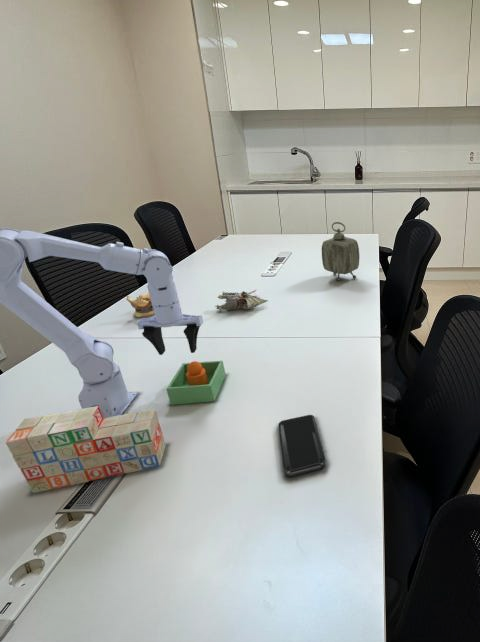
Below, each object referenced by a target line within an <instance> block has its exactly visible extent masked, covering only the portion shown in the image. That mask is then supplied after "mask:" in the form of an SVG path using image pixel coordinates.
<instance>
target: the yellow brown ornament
mask: <svg viewBox="0 0 480 642" xmlns="http://www.w3.org/2000/svg"><path fill="white" fill-rule="evenodd" d="M126 301H128V302H129V304H130V305H131V307H132V308H133V309H134V316H135V318H138V319H139V318H140V319H143V318H149V317H151V316H152V317H153V315H154V316H155V314H154V310H153V306H152V302H151V299H150V295H149V292H147V293H145V294H144V293H142V294H139V295H138V296H137V297H136V299H132V298H131V297H130V296H129V295H126ZM146 310H151V311H148V312H143V313H142V311H146Z"/></svg>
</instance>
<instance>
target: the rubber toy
mask: <svg viewBox="0 0 480 642" xmlns="http://www.w3.org/2000/svg"><path fill="white" fill-rule="evenodd" d="M199 362H200V361H195V360H194V361H191V362H189V363H190V364H189V365H188V367H187V371H188V372H187V374H186V376H187V380H188V384H189V386H195V385H208V380H207V376H206V371H205V369H204V368H202V365H201V364H200V363H199Z"/></svg>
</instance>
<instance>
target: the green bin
mask: <svg viewBox="0 0 480 642" xmlns="http://www.w3.org/2000/svg"><path fill="white" fill-rule="evenodd" d="M198 362H199V363H200V364H201V365H202V368H204V369H205V371H206V376H207V380H208V385H195V386H189V384H188V380H187V376H186V374H187V372H188V371H187V367H188V365H189V364H190V363H191V362H183V363H181V366H180V367H179V369H178V370H177V371H176V373H175V374H174V376H173V378H172V379H171V381H170V382H169V384H168V386H167V387H166V393H167V396H168V401H169V403H170V406H172V405H173V406H174V405H184V404H197V403H209V402H210V403H211V402H215V401H216V399H217V396H218V394H219V392H220V390H221V387H222V385H223V383H224V381H225V378H226V375H227V374H226V370H225V369H226V368H225V365H224V361H223V360H212V361H198Z"/></svg>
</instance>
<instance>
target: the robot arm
mask: <svg viewBox="0 0 480 642" xmlns="http://www.w3.org/2000/svg"><path fill="white" fill-rule="evenodd" d="M47 257H57V258H65V259H71V260H78V261H85V262H91V263H92V262H94V263H98V264H99V265H100V266H101V267H102V268H103V269H104V270H107V271H112V272H117V273H124V274H130V275H136V276H141V275H143V277H145V278H146V282H147V287H146V288H147V291H148V293H149V295H150V299H151V302H152V306H153V309H152V311H154V316H152V317H144V318H140V319H139V320H137V322H136V324H137V328H138V330H143V331H142V333H141V335H142V337H143V338H144V339H146V340H147V341H149V342H150V344H152V346H153V347H154V349H155V350H156V352H157V353H158V355H159V356H163V355H164V353H165V352H166V345H165V342H164V338H163V331H162V328H172V327H184V326H185V328H184V329H183V334H184V335H185V337H186V340H187V342H188V343H187V344H188V347H189V351H190V353H191V354H194V353H195V352H196V351H197V348H198V347H197V343H198V335H199V330H200V327H202V325H203V324H204V318H203V315H194V314H186V313H183V312H182V307H181V304H180V299H179V295H178V291H177V290H178V289H177V286H176V282H175V281H174V276H173V269H174V268H173V265H172V263H171V261H170V260H169V258H168V256H167V255H166V254H165V253H163V252H162V251H160V250H157V249H153V248H152V249H149V248H146V247H143V248H142V249H140V248H136V247H131V246H126V245H125V244H124V242H121V241H116V242H115V243H112V242H110V243H109V242H108V243H107V244H105V245H103V246H98V245H92V244H89V243H84V242H80V241H75V240H71V239H67V238H63V237H60V236H54V235H50V234H47V233H42V232H37V231H32V230H25V229H24V230H23V229H22V230H21V231H20V230H18V229H16V228H12V227H11V228H10V227H2V228H0V304H1V305H2V306H4V307H5V308H6V309H8V310H9V311H10V312H11V313H13V314H14V315H15V316H17V317H18V318H20V319H21V321H23V322H24V323H26V324H27V325H28V326H30V327H31V328H32V329H34V330H35V331H36V332H38V333H39V334H40V335H42V336H43V337H44V338H45V339H47V340H48V341H49V342H51V343H52V344H54V346H56V347H57V348H58V349H60V350H61V351H62V352H64V354H65V355H66V357H67V359H68V360H69V363H70V364H71V365H72V366H73V367H74V368H76V369H77V371H78V374H79V376H80V378H81V379H82V383H83V385H82V389H81V390H80V392H79V394H78V402H79V405H80V407H81V409H84V408H90V407H95V406H99V408H100V410H101V413H102V415H103V419H105V418H108V417H113V416H118V415H124V413H125V411H126V410H127V409H128V407H129V406H130V404H131V403H132V402H133V400H134V399H135V398H136V397H137V395H138V393H137V392H136V391H134V392H128V388H127V385H126V383H125V380H124V377H123V375H122V374H123V373H122V370H121V368H120V366H119V365H118V364H117V363H116V362H114V353H115V351H114V348H113V346H112V345H111V344H110V343H109V342H107V341H105V340H102V339H101V340H100V339H98V338H96V337H95V336H94V335H92V334H90V333H85V332H84V331H82V330H81V329H80V328H79V327H78V326H77V325H75V324H74V323H72V321H70V320H69V319H68V318H67V317H65V316H64V315H63V314H62V313H61V312H60V311H58V310H57V309H56V308H54V307H53V306H52V305H51V304H50V303H49V302H47V300H45V299H44V298H43V297H41V296H40V295H39V294H38V293H37V292H35V291H34V290H33V289H32V288H30V287H29V286H28V285H27V284H26V283H25V282H23V281H22V274H23V267H24V266H23V264H24V262H25V260H26V259H28V262H29V263H31V262H36V261H37V260H41V259H43V258H47Z"/></svg>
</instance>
